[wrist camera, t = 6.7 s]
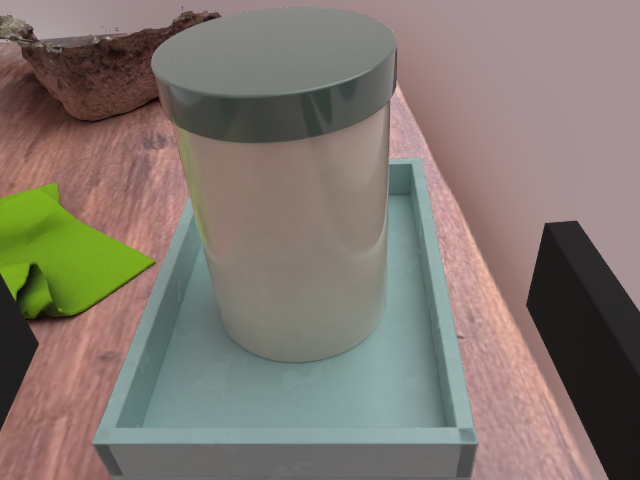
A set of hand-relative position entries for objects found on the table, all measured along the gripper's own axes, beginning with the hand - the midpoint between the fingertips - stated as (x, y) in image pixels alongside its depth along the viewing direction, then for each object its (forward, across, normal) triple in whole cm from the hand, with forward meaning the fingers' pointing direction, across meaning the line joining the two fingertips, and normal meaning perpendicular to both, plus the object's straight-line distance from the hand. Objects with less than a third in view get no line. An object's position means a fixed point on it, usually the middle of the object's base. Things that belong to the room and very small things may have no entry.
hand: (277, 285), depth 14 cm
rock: (+48, -18, -14) cm, 53 cm away
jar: (+8, 0, -8) cm, 12 cm away
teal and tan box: (+8, 0, -14) cm, 16 cm away
